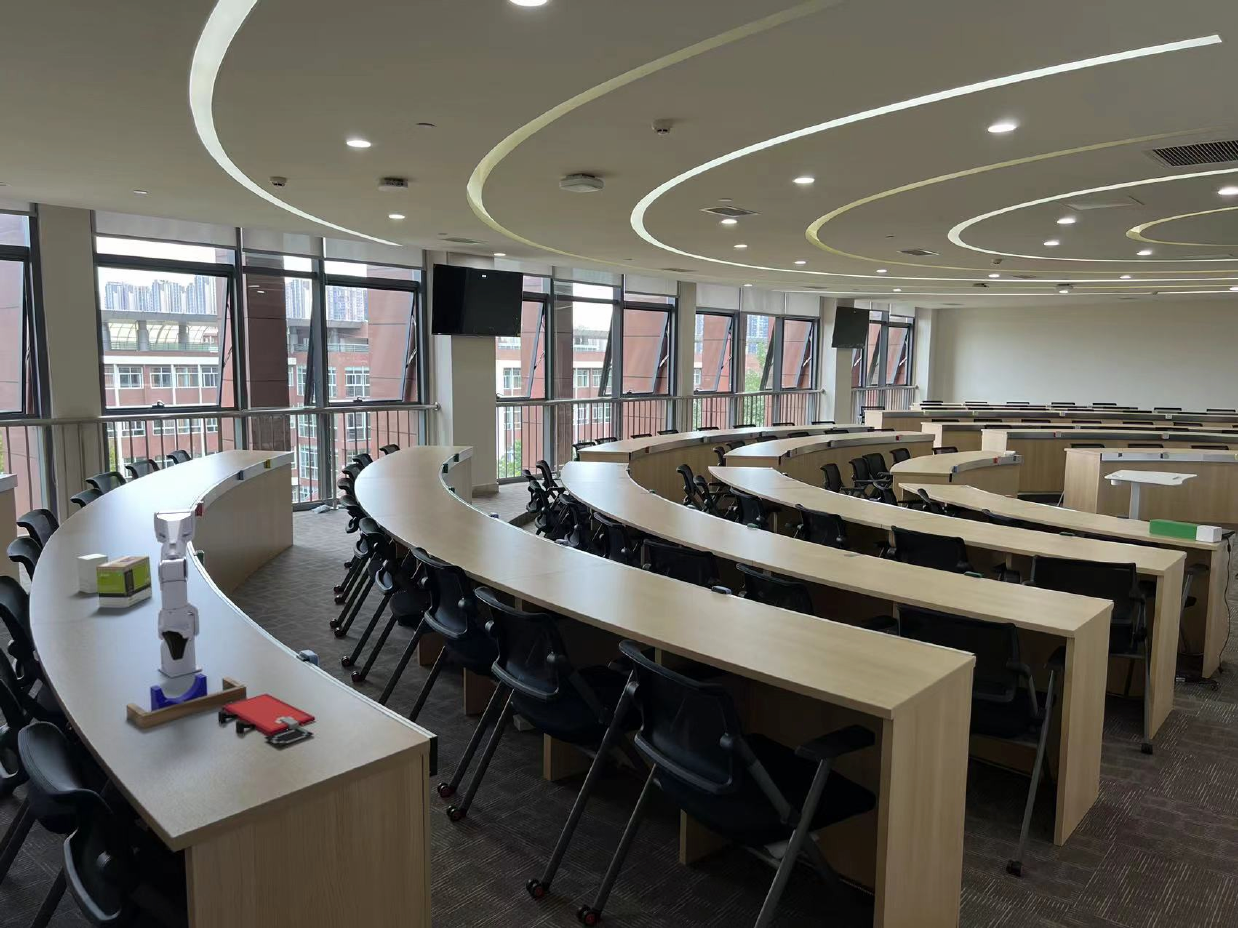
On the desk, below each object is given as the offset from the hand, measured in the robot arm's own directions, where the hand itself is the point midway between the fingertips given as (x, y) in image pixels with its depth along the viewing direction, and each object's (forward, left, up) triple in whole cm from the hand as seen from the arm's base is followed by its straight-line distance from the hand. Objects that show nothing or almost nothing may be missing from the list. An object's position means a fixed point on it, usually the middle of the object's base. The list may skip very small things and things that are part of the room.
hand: (177, 658), depth 209 cm
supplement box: (-121, +20, -10) cm, 124 cm away
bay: (+10, -2, -9) cm, 14 cm away
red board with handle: (+32, +7, -10) cm, 34 cm away
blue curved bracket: (+7, -2, -10) cm, 12 cm away
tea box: (-97, +22, -10) cm, 100 cm away
